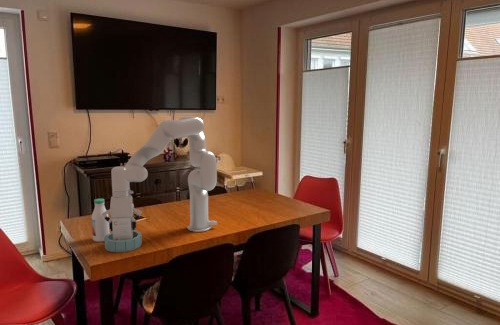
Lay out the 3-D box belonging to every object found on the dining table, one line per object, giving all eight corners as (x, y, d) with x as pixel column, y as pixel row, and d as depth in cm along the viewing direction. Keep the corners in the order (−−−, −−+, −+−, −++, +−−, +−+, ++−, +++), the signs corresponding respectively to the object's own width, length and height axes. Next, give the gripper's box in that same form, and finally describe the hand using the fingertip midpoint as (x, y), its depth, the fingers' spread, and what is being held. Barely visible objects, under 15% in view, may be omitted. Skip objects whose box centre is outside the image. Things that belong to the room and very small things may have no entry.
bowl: (143, 239, 184) (142, 229, 184) (139, 251, 169) (139, 240, 168) (108, 240, 181) (108, 230, 181) (102, 253, 166) (101, 242, 165)
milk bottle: (112, 236, 188) (110, 197, 185) (106, 242, 180) (104, 201, 177) (96, 236, 187) (94, 197, 184) (90, 242, 180) (87, 201, 177)
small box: (133, 240, 179) (132, 214, 177) (131, 245, 173) (130, 218, 171) (115, 241, 178) (114, 214, 176) (113, 246, 171) (111, 219, 169)
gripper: (141, 191, 177) (143, 226, 179) (103, 192, 174) (104, 228, 176) (140, 194, 169) (141, 231, 172) (99, 196, 166) (101, 233, 169)
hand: (122, 229), depth 174 cm, fingers open, 9 cm apart
